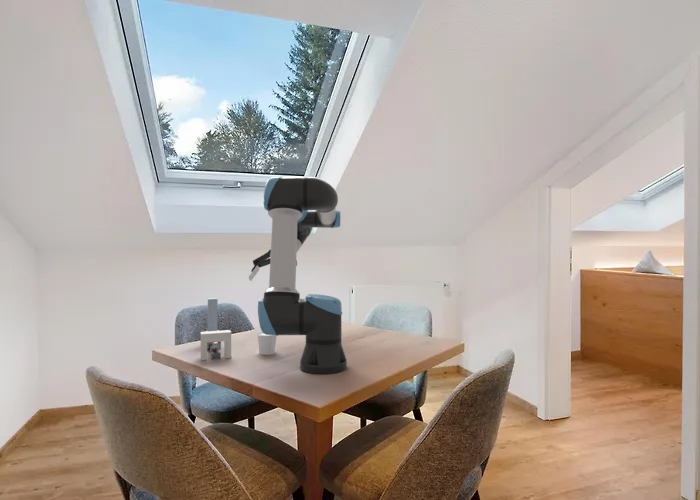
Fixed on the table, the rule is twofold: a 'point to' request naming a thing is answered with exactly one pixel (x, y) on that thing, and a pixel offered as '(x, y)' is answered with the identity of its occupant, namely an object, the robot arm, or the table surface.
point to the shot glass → (266, 344)
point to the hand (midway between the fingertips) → (263, 285)
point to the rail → (214, 353)
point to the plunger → (215, 345)
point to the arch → (216, 337)
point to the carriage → (212, 317)
